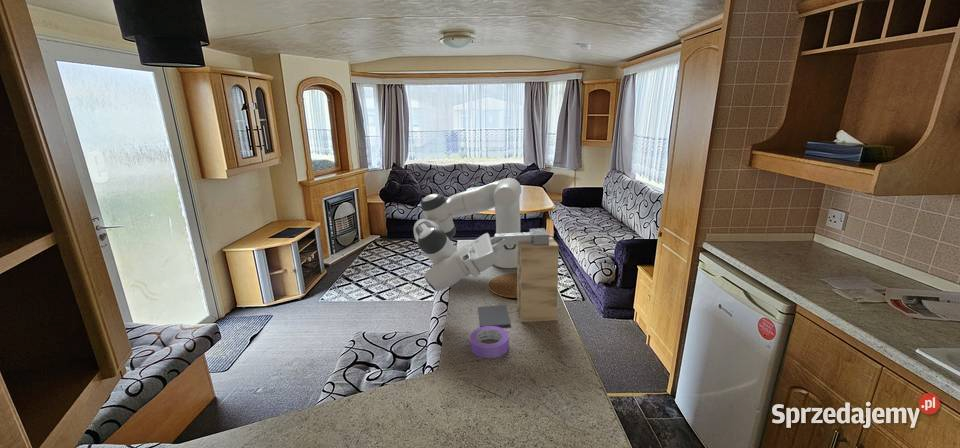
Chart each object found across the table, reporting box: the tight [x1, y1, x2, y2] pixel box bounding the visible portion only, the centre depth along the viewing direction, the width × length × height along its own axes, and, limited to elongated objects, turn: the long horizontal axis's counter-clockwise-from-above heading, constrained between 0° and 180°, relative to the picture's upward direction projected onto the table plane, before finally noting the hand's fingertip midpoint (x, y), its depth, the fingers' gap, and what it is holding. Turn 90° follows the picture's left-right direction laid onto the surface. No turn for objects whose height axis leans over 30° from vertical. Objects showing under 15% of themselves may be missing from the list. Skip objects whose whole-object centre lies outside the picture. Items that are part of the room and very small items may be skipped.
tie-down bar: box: [494, 227, 550, 246], centre depth 128 cm, size 7×17×4 cm, turn 94°
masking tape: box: [469, 326, 510, 359], centre depth 119 cm, size 12×12×4 cm
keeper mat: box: [477, 304, 511, 328], centre depth 136 cm, size 13×10×1 cm
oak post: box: [516, 236, 560, 323], centre depth 133 cm, size 9×12×27 cm
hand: (505, 237), depth 128 cm, fingers open, 3 cm apart
